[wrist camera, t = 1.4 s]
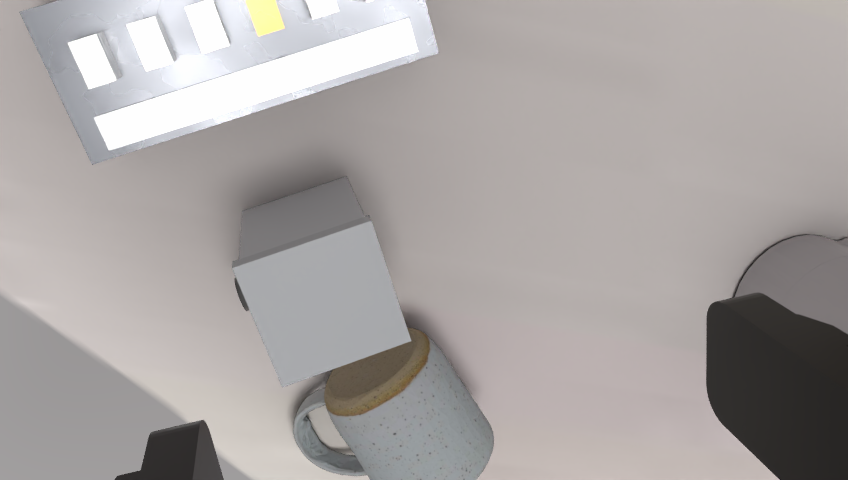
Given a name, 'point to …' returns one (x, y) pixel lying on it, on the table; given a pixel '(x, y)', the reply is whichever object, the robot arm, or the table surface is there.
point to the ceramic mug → (399, 418)
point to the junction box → (316, 282)
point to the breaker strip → (210, 59)
